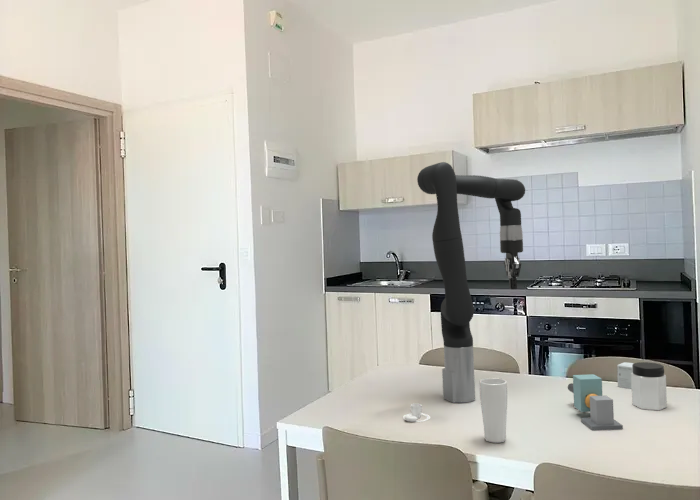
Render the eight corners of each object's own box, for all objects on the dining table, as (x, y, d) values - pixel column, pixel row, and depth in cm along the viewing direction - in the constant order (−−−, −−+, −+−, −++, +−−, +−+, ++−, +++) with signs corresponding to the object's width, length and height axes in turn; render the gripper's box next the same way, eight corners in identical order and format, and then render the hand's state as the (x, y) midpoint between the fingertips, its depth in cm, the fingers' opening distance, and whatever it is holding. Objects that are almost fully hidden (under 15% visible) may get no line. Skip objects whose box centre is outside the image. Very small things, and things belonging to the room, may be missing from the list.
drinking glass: (478, 436, 143) (475, 378, 143) (503, 434, 144) (501, 376, 144) (486, 445, 137) (484, 385, 136) (513, 443, 137) (511, 383, 137)
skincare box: (617, 387, 183) (616, 364, 183) (624, 383, 187) (624, 361, 187) (636, 390, 178) (635, 367, 178) (643, 386, 183) (643, 363, 182)
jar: (655, 412, 156) (654, 370, 156) (627, 406, 163) (625, 365, 162) (671, 406, 161) (670, 365, 161) (643, 400, 168) (642, 360, 167)
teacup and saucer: (410, 425, 155) (409, 411, 155) (395, 418, 162) (394, 404, 162) (435, 420, 159) (435, 405, 159) (420, 412, 166) (419, 399, 166)
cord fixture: (622, 429, 144) (621, 400, 144) (592, 430, 144) (591, 401, 144) (585, 403, 167) (584, 378, 167) (558, 404, 167) (558, 379, 167)
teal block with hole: (603, 411, 153) (601, 378, 153) (581, 411, 153) (580, 379, 153) (595, 405, 158) (593, 374, 158) (574, 406, 158) (572, 375, 158)
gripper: (495, 239, 197) (497, 287, 197) (505, 239, 184) (507, 291, 184) (516, 238, 197) (518, 287, 197) (528, 238, 184) (530, 290, 184)
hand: (513, 289), depth 191 cm, fingers closed
